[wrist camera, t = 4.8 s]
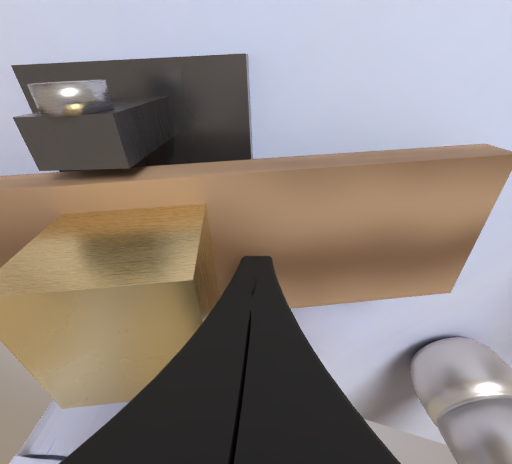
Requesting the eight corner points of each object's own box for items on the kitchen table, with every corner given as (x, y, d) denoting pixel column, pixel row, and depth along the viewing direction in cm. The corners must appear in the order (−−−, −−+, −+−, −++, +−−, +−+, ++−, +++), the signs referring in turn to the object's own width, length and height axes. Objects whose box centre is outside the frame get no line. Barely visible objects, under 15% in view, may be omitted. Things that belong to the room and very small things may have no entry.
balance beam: (400, 242, 17) (450, 292, 13) (-91, 285, 15) (-196, 356, 12) (436, 129, 13) (519, 154, 9) (-210, 169, 12) (-420, 219, 8)
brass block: (220, 301, 12) (217, 391, 9) (109, 311, 12) (62, 408, 8) (205, 203, 9) (192, 280, 6) (61, 214, 9) (-36, 300, 6)
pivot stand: (258, 289, 19) (254, 371, 14) (124, 288, 19) (73, 366, 14) (247, 54, 11) (229, 46, 6) (29, 65, 12) (-148, 65, 7)
